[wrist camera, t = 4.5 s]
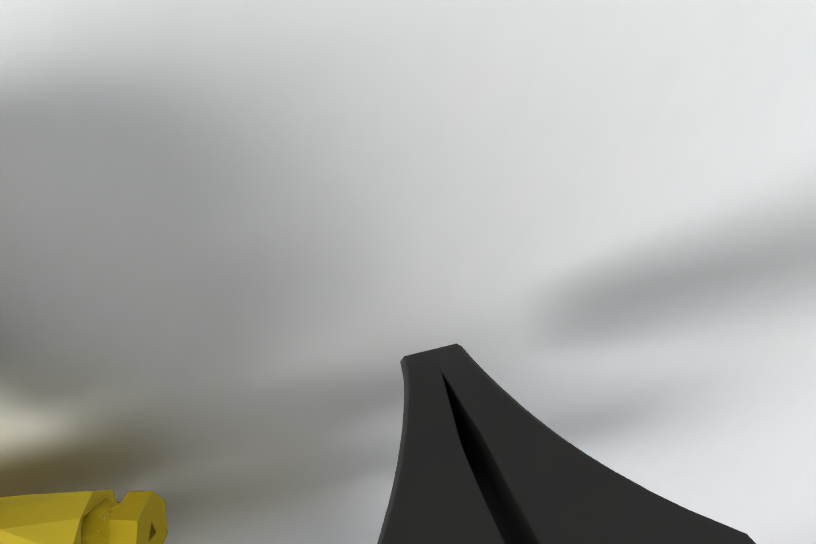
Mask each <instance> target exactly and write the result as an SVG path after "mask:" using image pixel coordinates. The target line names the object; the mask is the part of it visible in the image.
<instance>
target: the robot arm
mask: <svg viewBox="0 0 816 544" xmlns="http://www.w3.org/2000/svg"><path fill="white" fill-rule="evenodd" d="M400 362H401V367H402V373H403V378H404V413H403V427H402V436H401V443H400V450H399V456H398V463H397V468H396V473H395V478H394V483H393V488H392V492H391V496H390V500H389V504H388V508H387V512H386V515H385V519H384V522H383V526H382V529H381V533H380V536H379V539H378V543H377V544H756V543H755V542H754V541H753V540H752V539H751V538H750V537H749V536H748V535H747V534H745V533H743V532H741V531H738V530H736V529H733V528H731V527H729V526H726V525H724V524H721V523H719V522H716V521H714V520H712V519H709V518H707V517H704V516H702V515H700V514H697V513H695V512H692V511H690V510H688V509H686V508H683V507H681V506H679V505H677V504H675V503H673V502H671V501H669V500H667V499H665V498H663V497H661V496H659V495H656V494H654V493H653V492H651V491H649V490H647V489H645V488H644V487H642V486H640V485H638V484H636V483H635V482H633V481H631V480H629V479H627V478H625V477H624V476H622V475H620V474H618V473H616V472H615V471H613V470H611V469H609V468H608V467H606V466H604V465H603V464H601V463H600V462H598V461H596V460H595V459H593V458H592V457H590V456H588V455H587V454H585V453H584V452H582V451H581V450H579V449H578V448H576V447H575V446H573V445H572V444H570V443H569V442H568V441H566V440H565V439H563V438H562V437H561V436H559V435H558V434H556V433H555V432H554V431H552V430H551V429H550V428H548V427H547V426H546V425H545V424H543V423H542V422H541V421H539V420H538V419H537V418H536V417H534V416H533V415H532V414H531V413H529V412H528V411H527V410H526V409H525V408H524V407H522V406H521V405H520V404H519V403H518V402H517V401H515V400H514V399H513V398H512V397H511V396H510V395H509V394H508V393H507V392H505V391H504V390H503V389H502V388H501V387H500V386H499V385H498V384H497V383H496V382H495V381H494V380H493V379H492V378H491V377H490V376H489V375H488V374H487V373H486V372H485V371H484V370H483V369H482V368H481V367H480V366H479V365H478V364H477V363H476V362H475V361H474V360H473V359H472V358H471V357H470V356H469V354H468V353H467V352H466V351H465V350H464V349H463V347H462V346H460V345H458V344H453V345H449V346H445V347H441V348H437V349H433V350H429V351H424V352H420V353H416V354H412V355H408V356H404V358H403V359H402V360H401V361H400Z"/></svg>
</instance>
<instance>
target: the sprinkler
mask: <svg viewBox="0 0 816 544" xmlns="http://www.w3.org/2000/svg"><path fill="white" fill-rule="evenodd" d="M166 536H167V519H166V506H165V500H163V499H162V498H161V497H160V496H159V495H158V494H156V493H155V492H154V491H134V492H128V493H127V495H126V496H125V498H124V499H123V501H122V502H119V503H117V500H116V498H115V495H114V493H113V490H95V491H78V492H61V493H44V494H27V495H17V496H6V497H0V544H164V541H165V539H166Z"/></svg>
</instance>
